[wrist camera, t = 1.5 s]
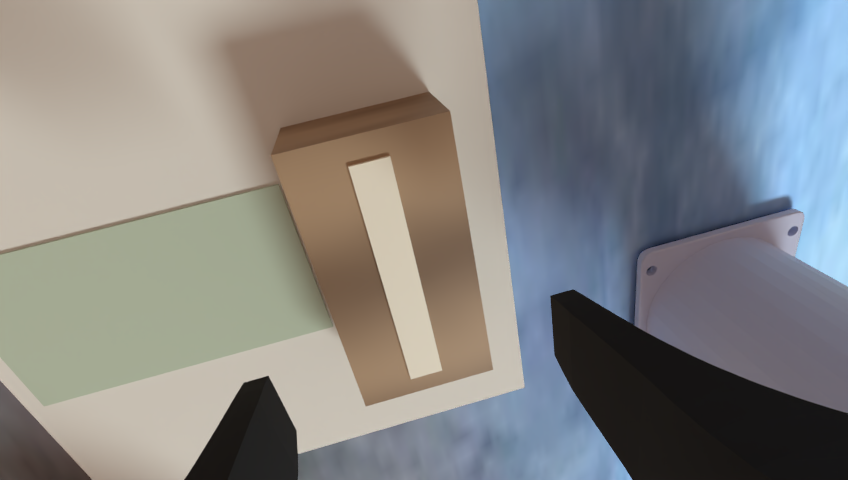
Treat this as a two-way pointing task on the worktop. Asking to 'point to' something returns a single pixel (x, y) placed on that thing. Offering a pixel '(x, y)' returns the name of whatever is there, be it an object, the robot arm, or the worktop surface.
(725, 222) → the worktop surface
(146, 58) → the mat
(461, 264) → the tissue box
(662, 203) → the worktop surface
